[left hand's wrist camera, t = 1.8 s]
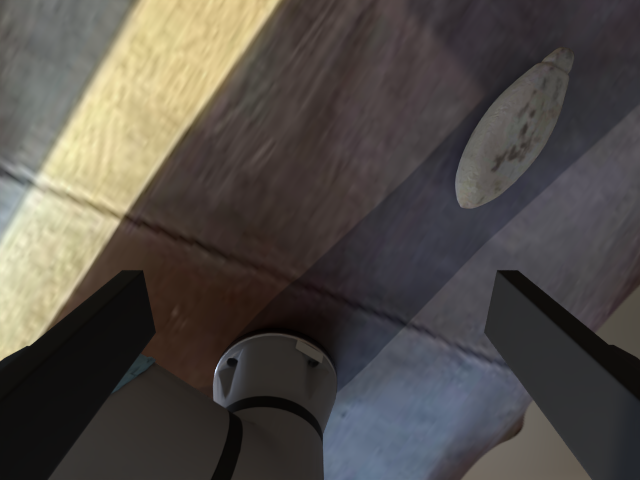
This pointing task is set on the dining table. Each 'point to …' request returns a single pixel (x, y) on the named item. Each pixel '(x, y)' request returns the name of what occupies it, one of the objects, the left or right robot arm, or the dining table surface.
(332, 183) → the dining table surface
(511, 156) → the decorative stone
